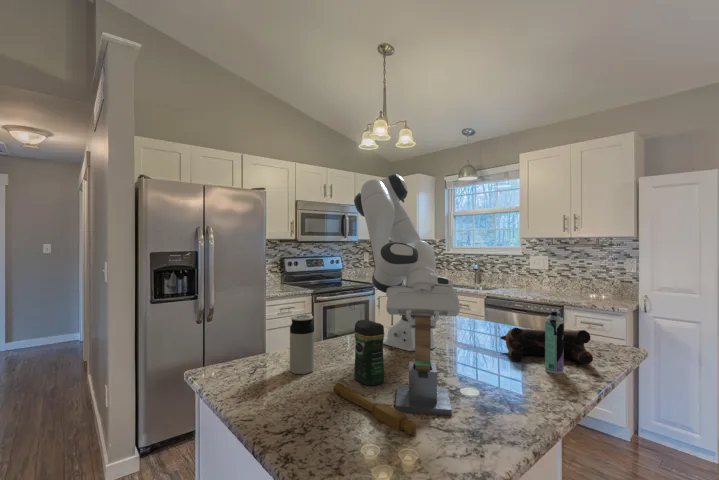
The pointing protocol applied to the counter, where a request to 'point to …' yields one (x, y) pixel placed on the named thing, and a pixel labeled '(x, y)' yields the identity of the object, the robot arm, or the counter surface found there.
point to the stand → (423, 393)
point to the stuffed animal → (534, 344)
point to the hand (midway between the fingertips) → (422, 327)
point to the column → (422, 342)
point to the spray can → (554, 344)
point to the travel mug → (301, 344)
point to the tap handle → (378, 410)
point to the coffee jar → (369, 352)
